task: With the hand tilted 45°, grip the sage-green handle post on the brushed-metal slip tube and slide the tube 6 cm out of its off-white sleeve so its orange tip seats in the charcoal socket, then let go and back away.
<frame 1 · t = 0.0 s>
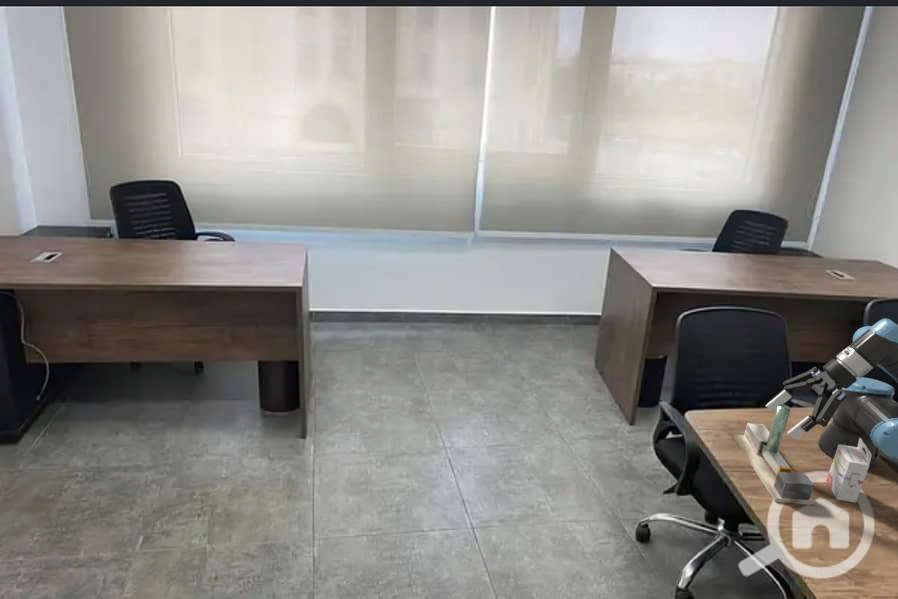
hand: (779, 422, 169), 15 cm above the table, tool tilted 35°, fingers open, 13 cm apart
tube rig: (767, 463, 178), on the table
slip tube: (775, 431, 175), point 10 cm above the table, slide at 0.0 cm
ink cartridge box: (840, 492, 168), on the table
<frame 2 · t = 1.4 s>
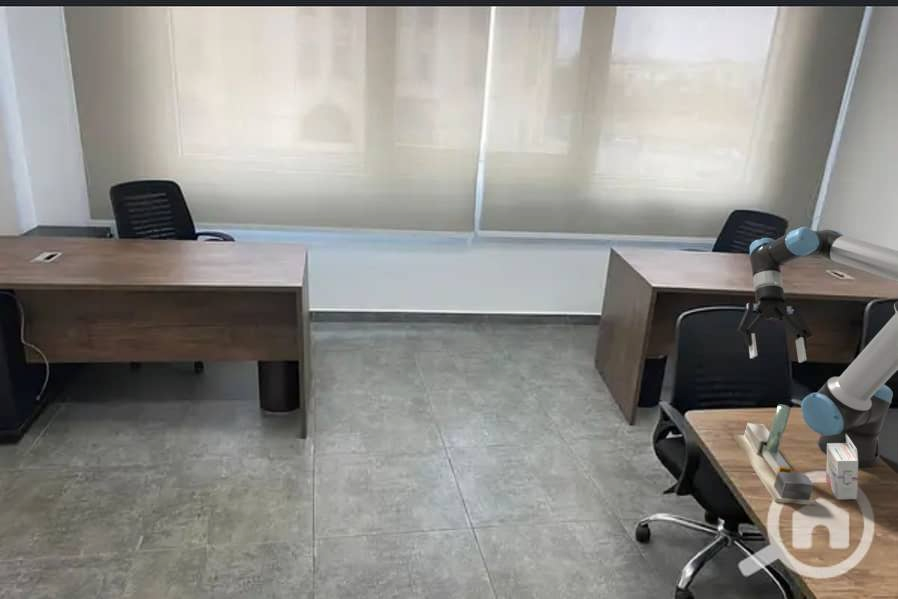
hand: (778, 359, 177), 28 cm above the table, tool tilted 45°, fingers open, 13 cm apart
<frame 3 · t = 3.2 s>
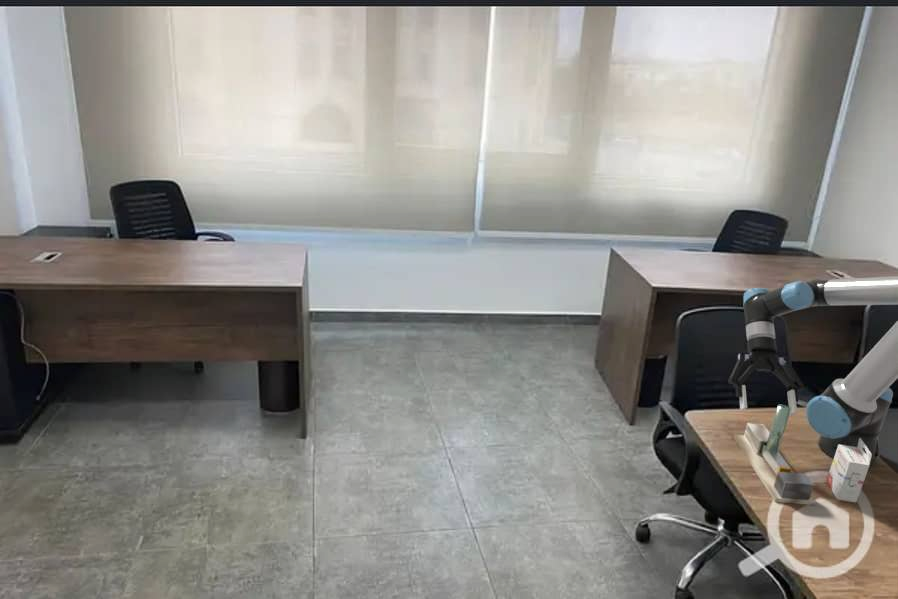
hand: (768, 411, 178), 14 cm above the table, tool tilted 45°, fingers open, 13 cm apart
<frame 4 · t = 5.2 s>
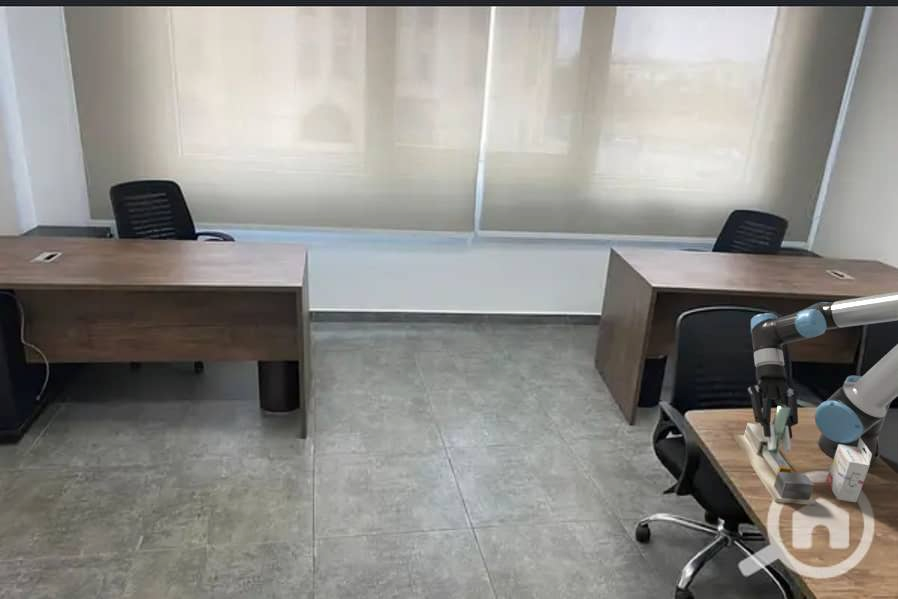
hand: (779, 449, 172), 7 cm above the table, tool tilted 45°, fingers closed on slip tube, 3 cm apart
slip tube: (775, 431, 175), point 10 cm above the table, slide at 0.0 cm, touching gripper
ink cartridge box: (840, 492, 168), on the table, touching arm
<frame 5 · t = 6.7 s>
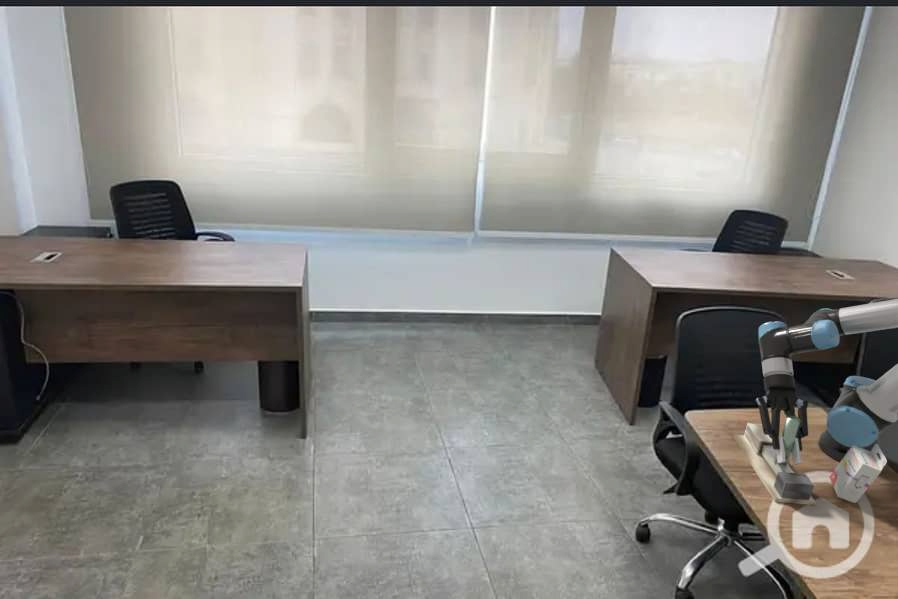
hand: (789, 462, 166), 7 cm above the table, tool tilted 45°, fingers closed on slip tube, 3 cm apart
slip tube: (784, 443, 170), point 10 cm above the table, slide at 5.9 cm, touching gripper
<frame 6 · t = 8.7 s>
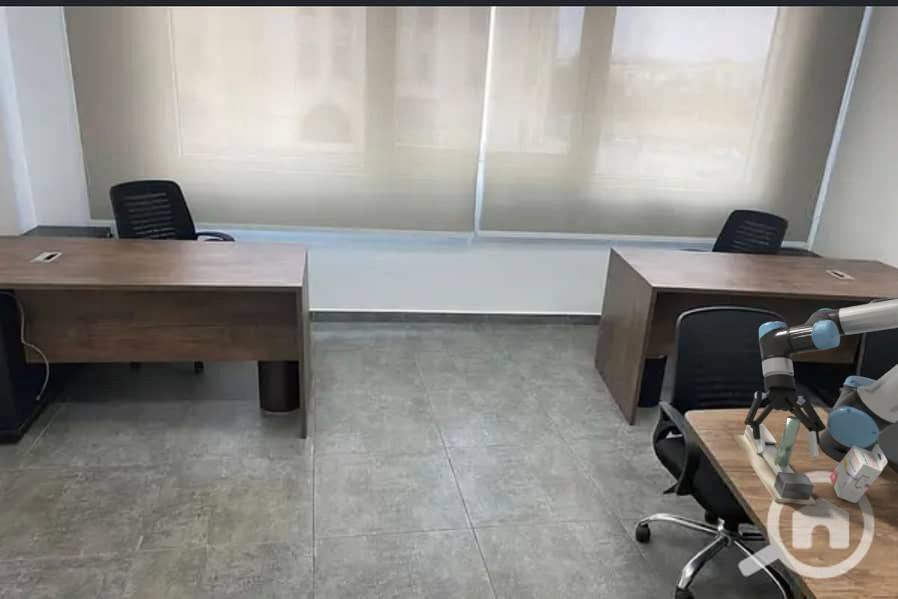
hand: (788, 454, 167), 9 cm above the table, tool tilted 45°, fingers open, 13 cm apart
slip tube: (784, 444, 169), point 10 cm above the table, slide at 6.1 cm
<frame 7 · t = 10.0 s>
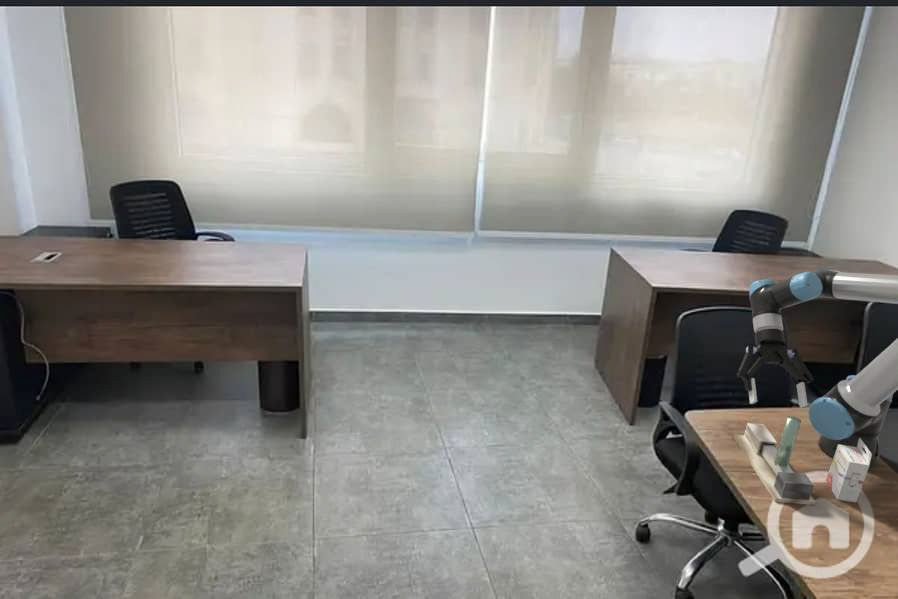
hand: (778, 404, 174), 17 cm above the table, tool tilted 45°, fingers open, 13 cm apart
ink cartridge box: (840, 492, 168), on the table
everything else where it was.
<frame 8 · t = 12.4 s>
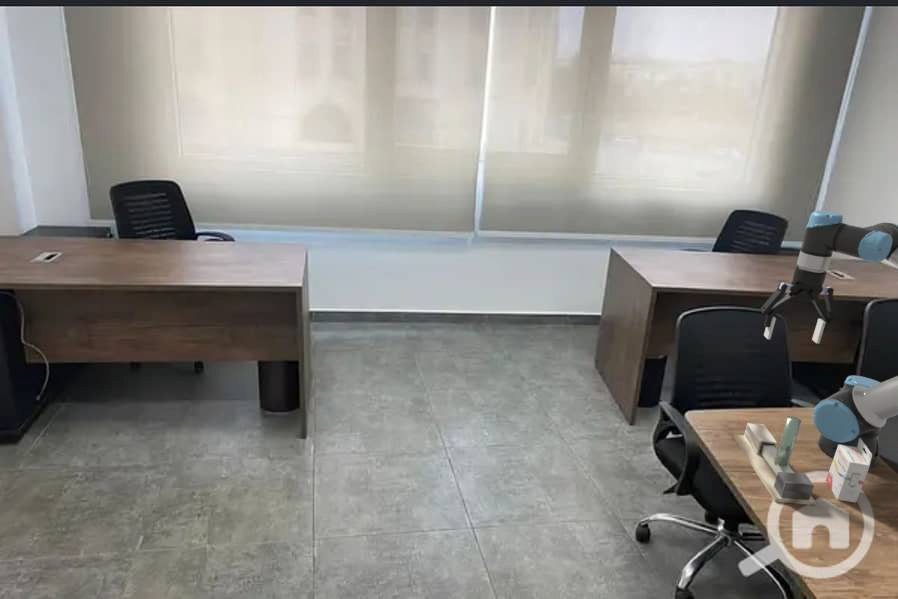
hand: (791, 339, 181), 32 cm above the table, tool pointing down, fingers open, 13 cm apart
ink cartridge box: (840, 492, 168), on the table, touching arm
everything else where it was.
at the end: slip tube slide at 6.1 cm; the gripper is holding nothing; ink cartridge box moved 0.3 cm from its start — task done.
